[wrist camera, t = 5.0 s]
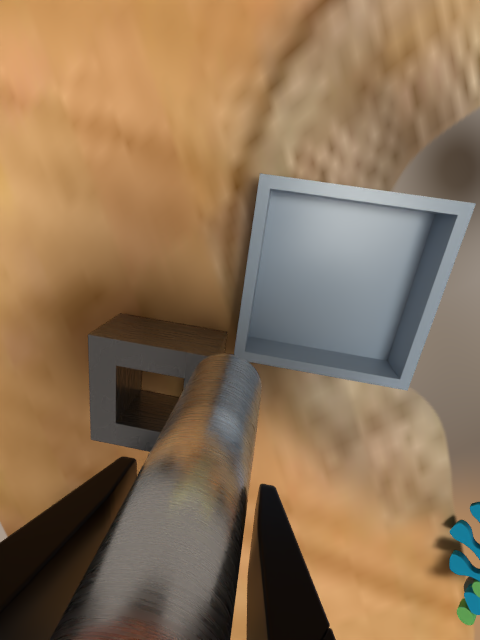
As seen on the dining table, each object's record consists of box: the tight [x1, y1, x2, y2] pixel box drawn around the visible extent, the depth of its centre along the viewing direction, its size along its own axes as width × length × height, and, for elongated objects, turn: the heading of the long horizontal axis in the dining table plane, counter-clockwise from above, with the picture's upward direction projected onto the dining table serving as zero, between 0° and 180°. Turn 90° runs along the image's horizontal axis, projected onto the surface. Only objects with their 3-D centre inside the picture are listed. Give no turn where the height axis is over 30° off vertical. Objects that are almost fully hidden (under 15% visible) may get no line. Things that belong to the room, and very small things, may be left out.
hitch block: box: [88, 313, 227, 452], centre depth 22 cm, size 8×8×4 cm
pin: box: [50, 354, 262, 640], centre depth 9 cm, size 4×4×11 cm
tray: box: [234, 174, 475, 390], centre depth 19 cm, size 10×10×3 cm
